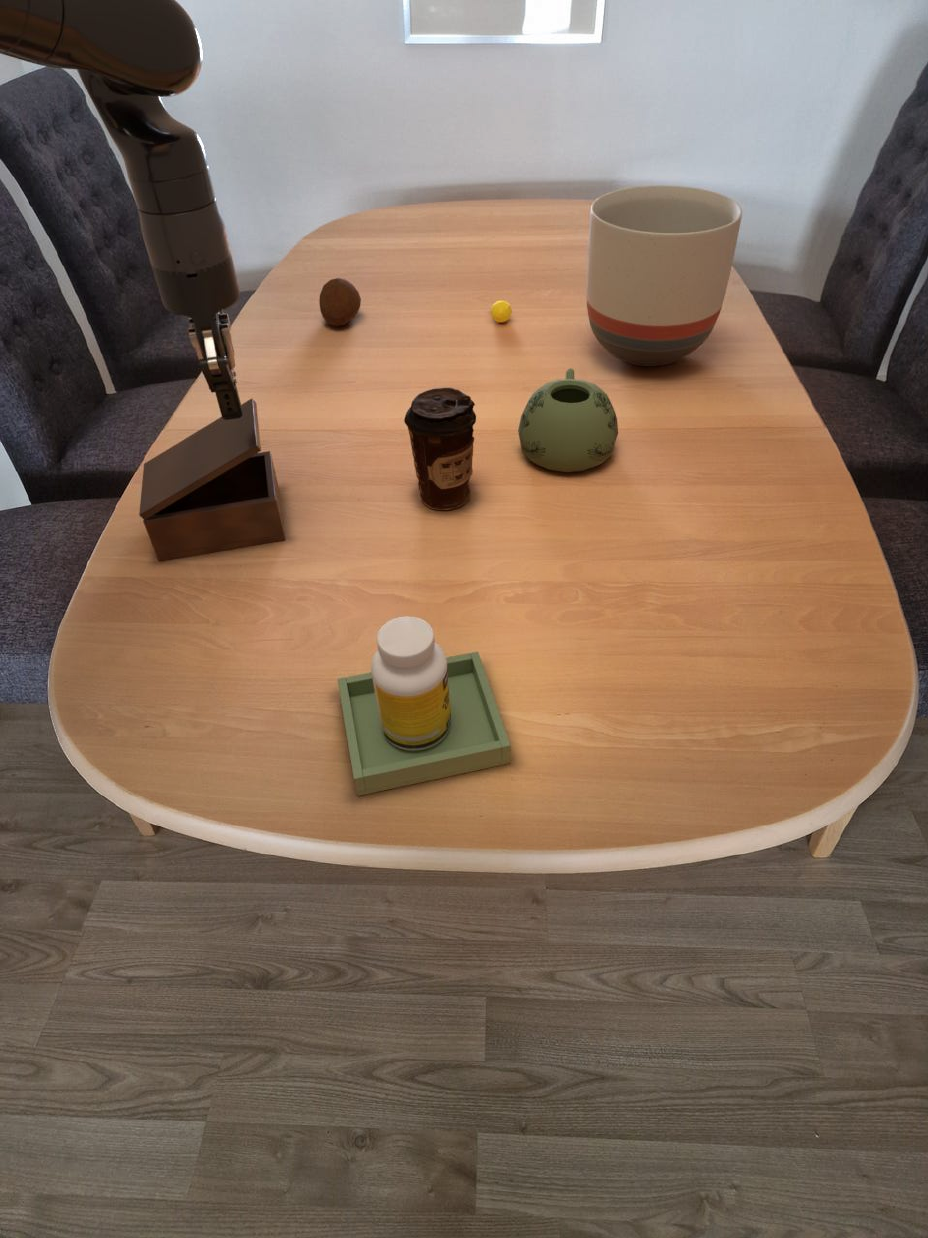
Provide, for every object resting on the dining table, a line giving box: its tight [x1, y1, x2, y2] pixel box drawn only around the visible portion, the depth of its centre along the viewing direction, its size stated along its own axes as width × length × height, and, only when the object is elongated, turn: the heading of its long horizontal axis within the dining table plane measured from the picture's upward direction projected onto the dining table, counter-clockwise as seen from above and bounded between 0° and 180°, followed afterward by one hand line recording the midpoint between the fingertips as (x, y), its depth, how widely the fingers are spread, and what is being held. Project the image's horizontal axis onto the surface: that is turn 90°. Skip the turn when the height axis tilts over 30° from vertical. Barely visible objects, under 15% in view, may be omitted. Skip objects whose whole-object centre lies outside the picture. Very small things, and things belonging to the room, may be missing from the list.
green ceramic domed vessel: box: [517, 367, 619, 473], centre depth 105 cm, size 16×13×9 cm
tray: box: [336, 651, 512, 797], centre depth 73 cm, size 14×12×3 cm
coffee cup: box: [403, 387, 477, 511], centre depth 96 cm, size 9×8×13 cm
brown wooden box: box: [142, 450, 286, 562], centre depth 96 cm, size 15×11×6 cm
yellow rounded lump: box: [490, 300, 513, 323], centre depth 136 cm, size 3×6×4 cm, turn 2°
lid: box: [138, 397, 262, 520], centre depth 91 cm, size 16×11×1 cm
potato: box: [318, 277, 362, 327], centre depth 136 cm, size 7×10×7 cm
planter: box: [585, 184, 743, 367], centre depth 118 cm, size 20×20×21 cm
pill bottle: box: [370, 615, 451, 751], centre depth 70 cm, size 6×6×12 cm
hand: (232, 415), depth 89 cm, fingers closed
